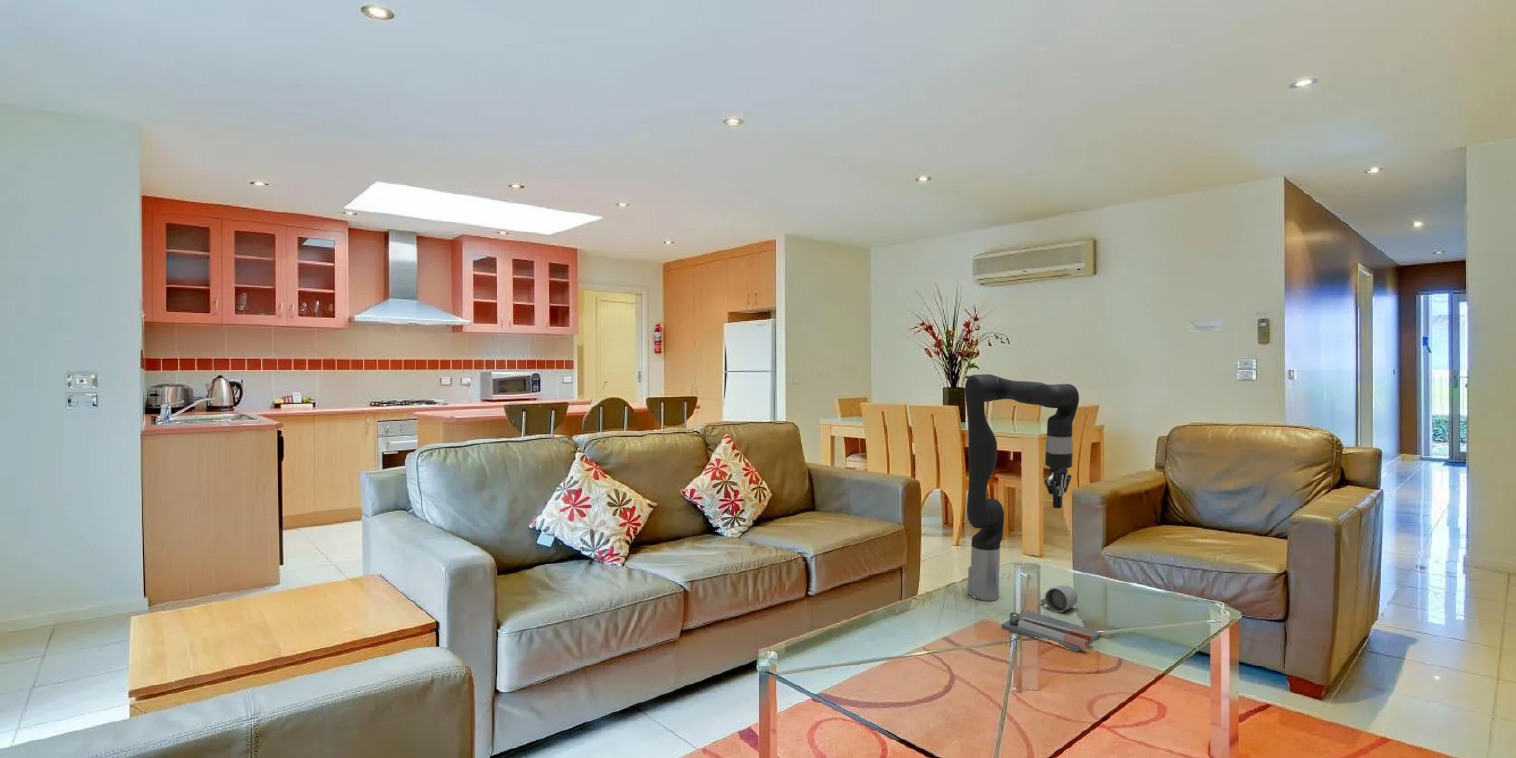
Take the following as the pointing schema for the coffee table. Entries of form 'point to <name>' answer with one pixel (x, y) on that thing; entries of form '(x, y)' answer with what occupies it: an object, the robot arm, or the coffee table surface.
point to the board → (1050, 621)
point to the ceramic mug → (1060, 598)
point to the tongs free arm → (1062, 629)
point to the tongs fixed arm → (1048, 632)
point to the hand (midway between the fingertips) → (1057, 507)
